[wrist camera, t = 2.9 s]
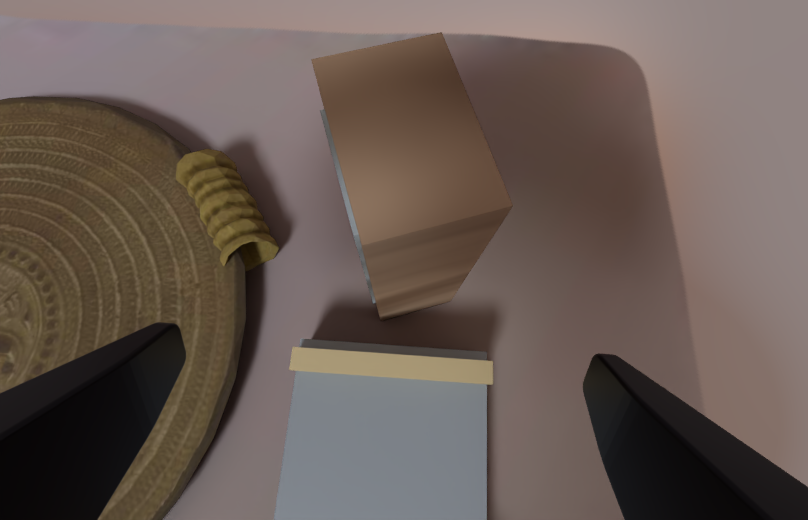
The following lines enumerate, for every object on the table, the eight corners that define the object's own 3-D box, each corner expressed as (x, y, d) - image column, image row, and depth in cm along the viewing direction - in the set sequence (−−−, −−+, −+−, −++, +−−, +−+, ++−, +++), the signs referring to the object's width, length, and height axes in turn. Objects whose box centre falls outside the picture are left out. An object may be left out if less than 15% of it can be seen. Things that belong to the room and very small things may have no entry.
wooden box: (453, 300, 21) (518, 204, 10) (378, 321, 21) (356, 246, 9) (421, 206, 23) (446, 31, 12) (351, 223, 23) (306, 60, 11)
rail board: (476, 637, 17) (494, 694, 14) (270, 622, 17) (241, 675, 14) (478, 354, 20) (492, 349, 17) (309, 342, 20) (294, 335, 17)
